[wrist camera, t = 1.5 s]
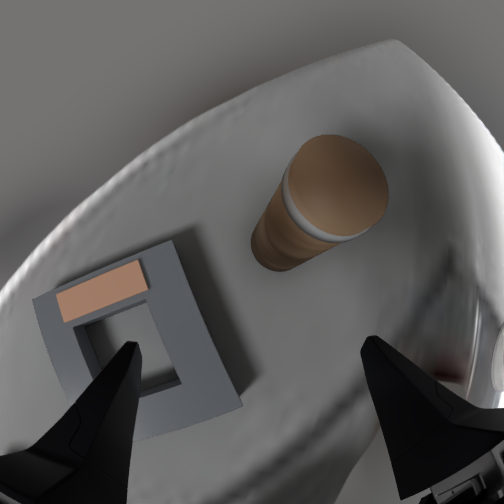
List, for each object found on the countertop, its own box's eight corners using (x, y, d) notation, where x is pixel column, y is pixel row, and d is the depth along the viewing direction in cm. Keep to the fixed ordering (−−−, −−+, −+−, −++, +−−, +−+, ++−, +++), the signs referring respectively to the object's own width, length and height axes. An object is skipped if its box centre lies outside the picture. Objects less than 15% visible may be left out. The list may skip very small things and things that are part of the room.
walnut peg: (315, 259, 25) (405, 213, 12) (264, 282, 24) (324, 249, 11) (292, 208, 26) (357, 126, 13) (240, 227, 24) (272, 144, 12)
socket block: (239, 396, 21) (243, 407, 19) (103, 438, 18) (93, 450, 16) (175, 246, 23) (171, 238, 20) (46, 301, 20) (30, 299, 17)
